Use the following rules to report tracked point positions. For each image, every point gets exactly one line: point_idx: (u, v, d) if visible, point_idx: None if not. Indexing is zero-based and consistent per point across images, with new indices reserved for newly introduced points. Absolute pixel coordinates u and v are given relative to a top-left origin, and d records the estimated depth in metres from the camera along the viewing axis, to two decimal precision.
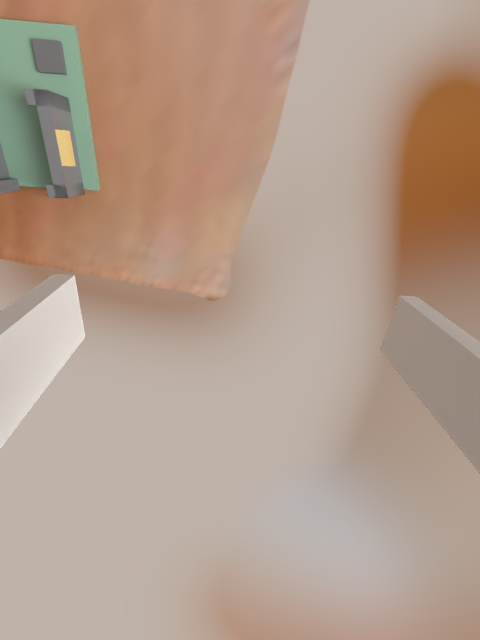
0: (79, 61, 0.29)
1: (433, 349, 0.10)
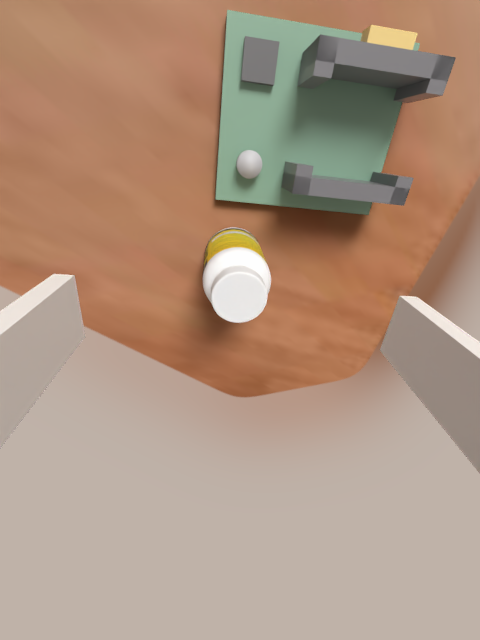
0: None
1: (433, 349, 0.10)
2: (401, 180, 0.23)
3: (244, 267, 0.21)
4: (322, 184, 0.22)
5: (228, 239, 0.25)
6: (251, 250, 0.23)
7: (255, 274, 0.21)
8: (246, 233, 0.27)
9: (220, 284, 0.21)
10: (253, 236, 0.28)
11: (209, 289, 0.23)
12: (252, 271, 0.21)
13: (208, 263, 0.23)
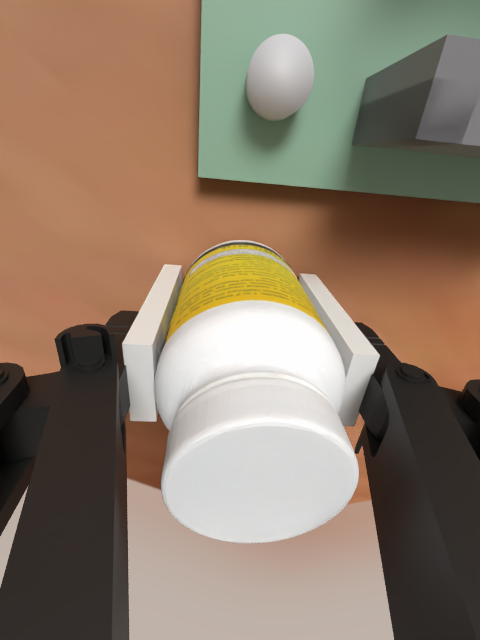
0: None
1: None
2: None
3: (278, 383, 0.06)
4: None
5: (227, 271, 0.10)
6: (293, 309, 0.08)
7: (321, 417, 0.06)
8: (269, 253, 0.12)
9: (189, 459, 0.05)
10: None
11: (171, 420, 0.08)
12: (308, 400, 0.06)
13: (167, 347, 0.08)
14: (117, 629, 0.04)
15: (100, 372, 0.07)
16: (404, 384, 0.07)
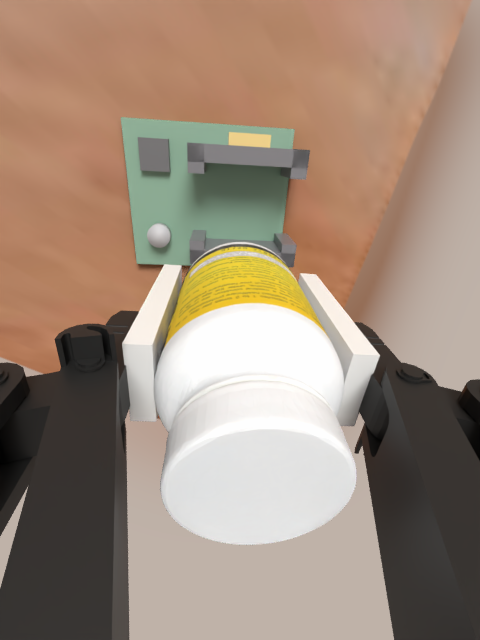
0: None
1: None
2: (286, 248, 0.26)
3: (277, 387, 0.06)
4: None
5: (226, 273, 0.10)
6: (291, 312, 0.08)
7: (319, 420, 0.06)
8: (268, 255, 0.12)
9: (188, 461, 0.06)
10: (282, 260, 0.13)
11: (170, 422, 0.08)
12: (306, 403, 0.06)
13: (166, 350, 0.08)
14: (117, 630, 0.04)
15: (100, 372, 0.07)
16: (404, 384, 0.07)
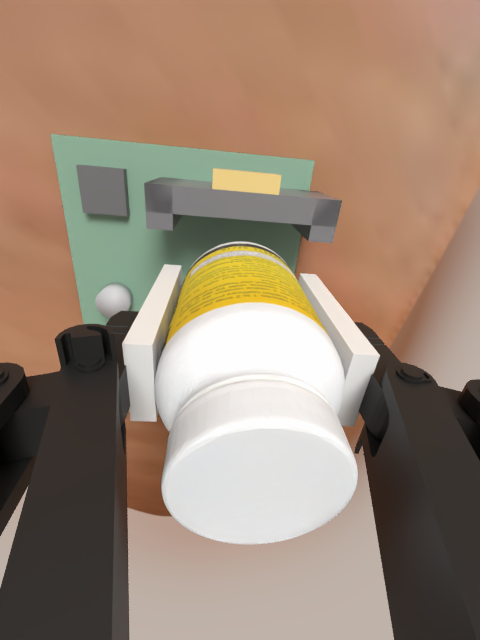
0: (102, 139, 0.16)
1: None
2: None
3: (278, 386, 0.06)
4: None
5: (226, 273, 0.10)
6: (292, 311, 0.08)
7: (320, 419, 0.06)
8: (269, 255, 0.12)
9: (189, 461, 0.06)
10: (282, 260, 0.13)
11: (171, 422, 0.08)
12: (307, 402, 0.06)
13: (167, 349, 0.08)
14: (117, 629, 0.04)
15: (100, 372, 0.07)
16: (404, 384, 0.07)
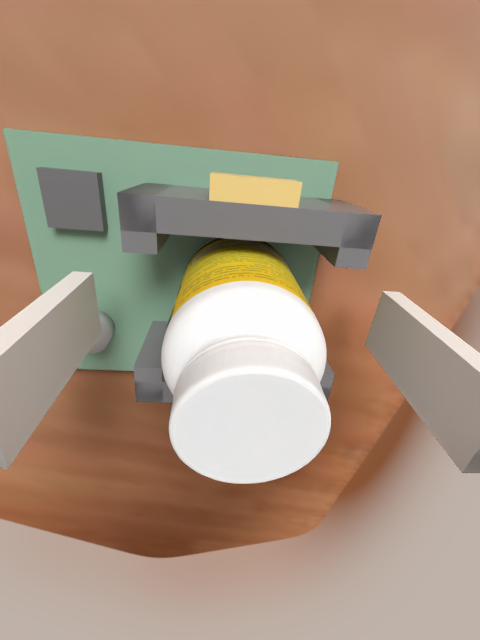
0: None
1: (412, 342, 0.11)
2: None
3: (265, 345, 0.07)
4: None
5: (224, 258, 0.11)
6: (280, 288, 0.09)
7: (299, 370, 0.07)
8: (263, 244, 0.13)
9: (192, 402, 0.07)
10: (276, 250, 0.14)
11: (175, 384, 0.09)
12: (289, 357, 0.07)
13: (172, 321, 0.09)
14: None
15: None
16: None
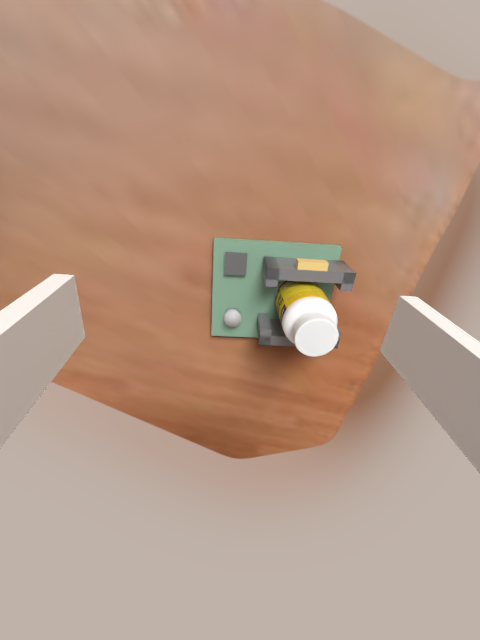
0: (237, 240, 0.33)
1: (433, 349, 0.10)
2: None
3: (320, 314, 0.27)
4: (278, 339, 0.34)
5: (300, 288, 0.31)
6: (322, 298, 0.29)
7: (330, 320, 0.27)
8: None
9: (302, 328, 0.27)
10: (316, 282, 0.34)
11: (289, 329, 0.29)
12: (327, 317, 0.27)
13: (288, 309, 0.29)
14: None
15: None
16: None
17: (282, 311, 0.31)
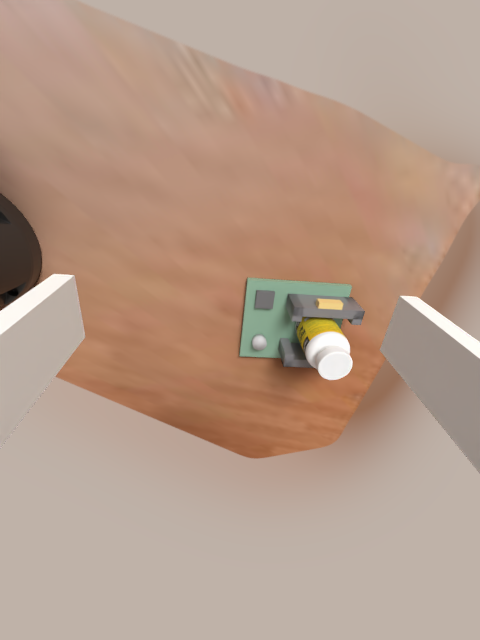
0: (267, 281, 0.40)
1: (433, 349, 0.10)
2: None
3: (338, 347, 0.34)
4: (299, 362, 0.41)
5: (319, 322, 0.38)
6: (339, 333, 0.36)
7: (346, 352, 0.34)
8: None
9: (325, 359, 0.34)
10: None
11: (311, 357, 0.37)
12: (343, 350, 0.34)
13: (311, 341, 0.36)
14: None
15: None
16: None
17: (305, 341, 0.38)
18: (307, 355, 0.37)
